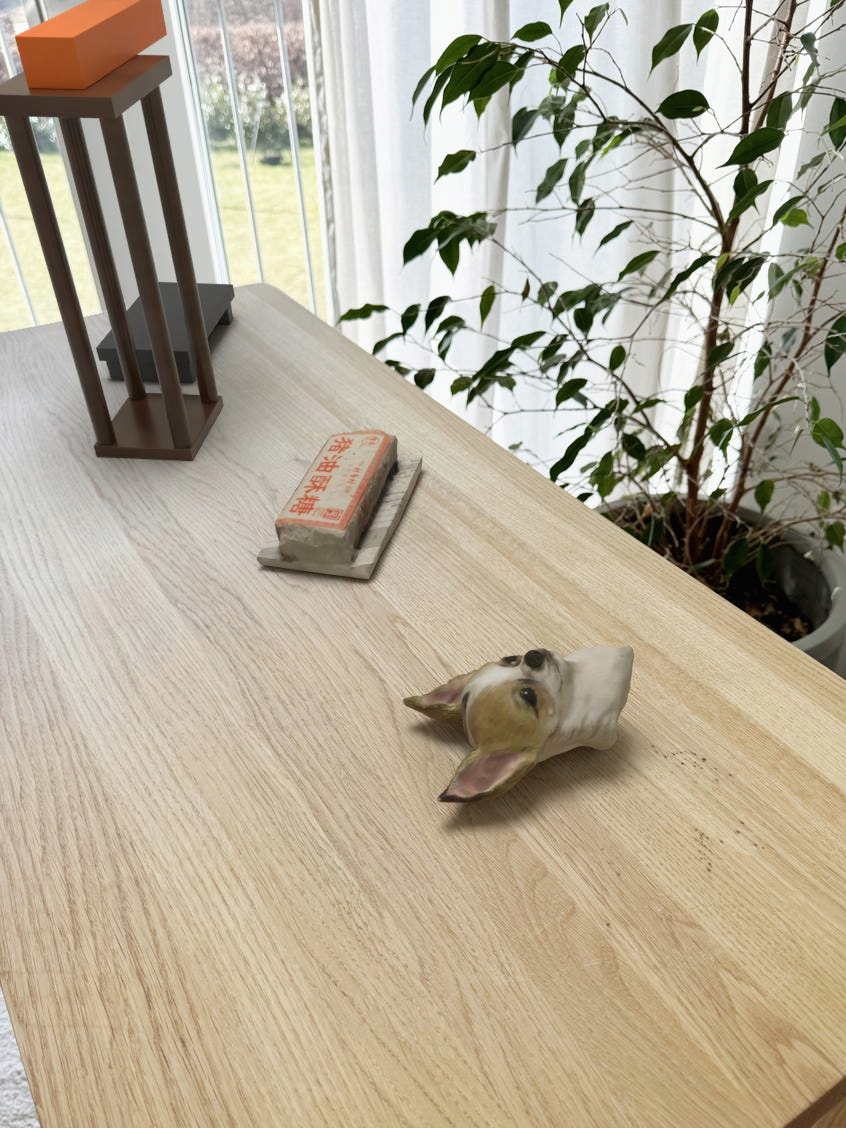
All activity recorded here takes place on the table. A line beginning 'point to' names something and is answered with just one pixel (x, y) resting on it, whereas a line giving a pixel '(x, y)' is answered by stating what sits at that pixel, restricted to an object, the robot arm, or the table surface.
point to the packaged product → (344, 506)
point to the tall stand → (144, 418)
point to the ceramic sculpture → (529, 713)
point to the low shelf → (170, 330)
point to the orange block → (88, 42)
